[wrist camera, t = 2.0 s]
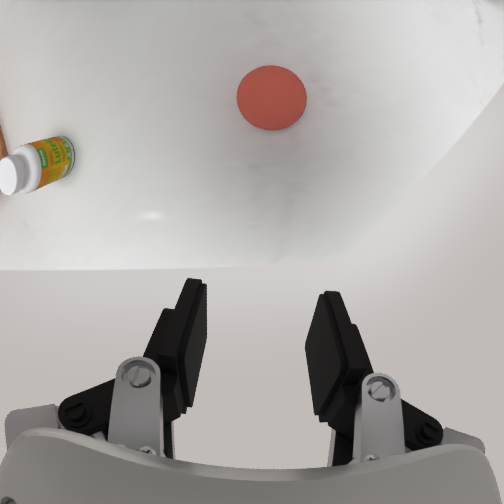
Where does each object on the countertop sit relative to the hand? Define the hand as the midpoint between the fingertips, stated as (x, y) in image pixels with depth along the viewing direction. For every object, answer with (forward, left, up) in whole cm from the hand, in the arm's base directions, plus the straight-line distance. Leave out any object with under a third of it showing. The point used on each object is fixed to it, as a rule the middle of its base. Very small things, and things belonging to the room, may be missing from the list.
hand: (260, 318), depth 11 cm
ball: (-10, 0, -16) cm, 19 cm away
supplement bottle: (-4, -25, -20) cm, 32 cm away
